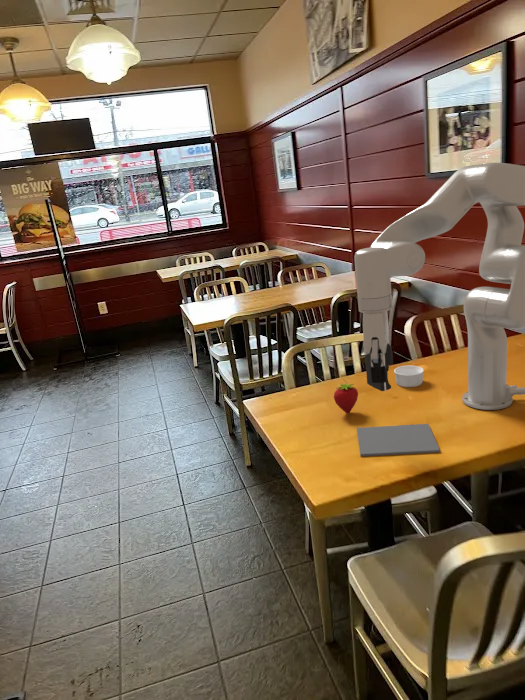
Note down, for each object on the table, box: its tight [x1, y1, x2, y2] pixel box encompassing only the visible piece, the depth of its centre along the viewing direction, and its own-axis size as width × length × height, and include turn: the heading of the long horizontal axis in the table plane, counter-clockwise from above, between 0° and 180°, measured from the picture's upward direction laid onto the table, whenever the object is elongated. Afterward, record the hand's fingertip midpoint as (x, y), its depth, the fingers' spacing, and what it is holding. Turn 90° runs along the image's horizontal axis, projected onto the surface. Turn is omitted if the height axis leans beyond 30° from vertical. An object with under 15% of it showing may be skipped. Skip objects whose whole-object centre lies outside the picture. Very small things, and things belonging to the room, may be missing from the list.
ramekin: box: [393, 364, 425, 388], centre depth 161 cm, size 9×9×4 cm
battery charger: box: [364, 341, 394, 392], centre depth 123 cm, size 7×4×11 cm, turn 22°
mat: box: [356, 423, 441, 457], centre depth 127 cm, size 18×14×1 cm
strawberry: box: [333, 379, 359, 414], centre depth 144 cm, size 6×8×10 cm
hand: (380, 375), depth 123 cm, fingers closed on battery charger, 6 cm apart
